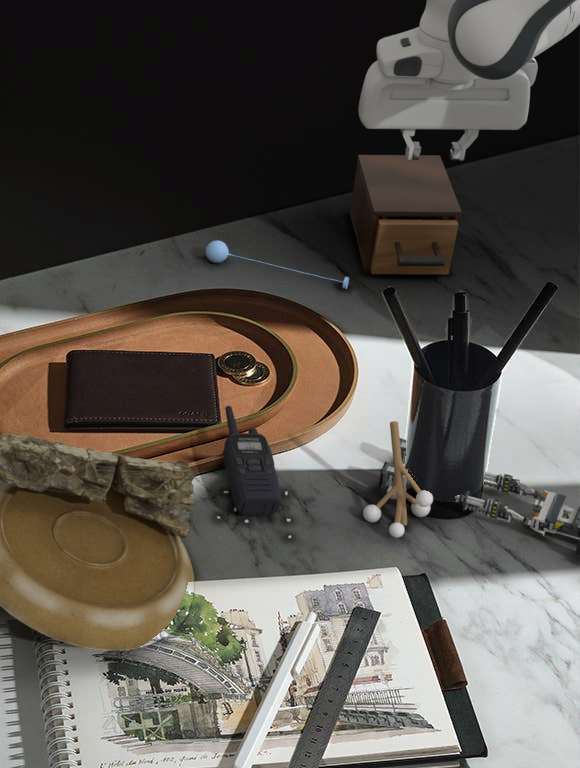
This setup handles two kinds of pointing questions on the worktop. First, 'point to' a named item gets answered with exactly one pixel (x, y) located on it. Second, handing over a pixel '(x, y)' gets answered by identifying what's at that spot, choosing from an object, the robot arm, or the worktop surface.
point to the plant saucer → (88, 569)
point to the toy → (545, 514)
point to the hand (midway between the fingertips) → (434, 158)
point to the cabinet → (398, 195)
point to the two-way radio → (250, 470)
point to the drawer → (414, 245)
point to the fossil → (101, 478)
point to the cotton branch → (400, 492)
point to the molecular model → (220, 252)
